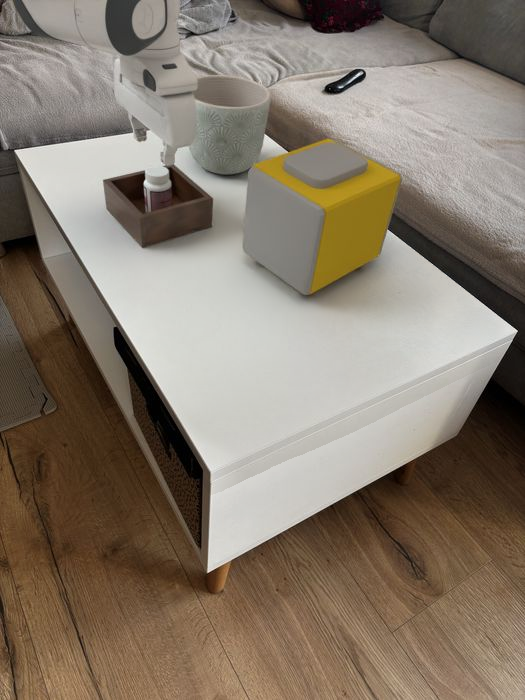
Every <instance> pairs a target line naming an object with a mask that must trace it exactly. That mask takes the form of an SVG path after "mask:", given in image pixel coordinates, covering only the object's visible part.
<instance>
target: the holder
mask: <svg viewBox="0 0 525 700" xmlns="http://www.w3.org/2000/svg"><path fill="white" fill-rule="evenodd" d="M162 166H163V167H166V168H167V169H168V170H169V180H170V181H171V186H172V206H170V207H166V208H162V209H159V210H155V211H151V212H148V213H146V209H145V195H144V181H145V180H146V178H145V170H146V169H144V170H140V171H135V172H131V173H130V172H129V173H126V174H122V175H117V176H113V177H109V178H105V179H102V185H103V192H104V202H105V208H106V210H107V211H108V212H109V214H110V215H111V216H112V217H113V218H114V219H115V220H116V221H117V222H118V223H119V224H120V225H121V227H122V228H123V229H124V231H126V232H127V233H128V235H130V236H131V238H132V239H133V240H134V241H135V243H136V244H138V245H139V246H140V247H141V248H142V249H144V248H147V247H150V246H153V245H156V244H160V243H162V242H167V241H170V240H173V239H176V238H179V237H182V236H183V237H184V236H186V235H190V234H192V233H197V232H199V231H202V230H206V229H209V228H212V227H213V213H214V211H213V210H214V209H213V208H214V197H212V195H210V194H209V193H208V192H206V191H205V189H203V187H201V186H200V185H198V183H196V182H195V181H194V180H193V179H191V178H190V177H189V176H188V175H187V174H186V173H185V172H184V171H182V170H181V169H180V168H179V167H178V166H176V164H175V163H174V164H173V165H170V166H166V165H165V164H164V165H162Z"/></svg>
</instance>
